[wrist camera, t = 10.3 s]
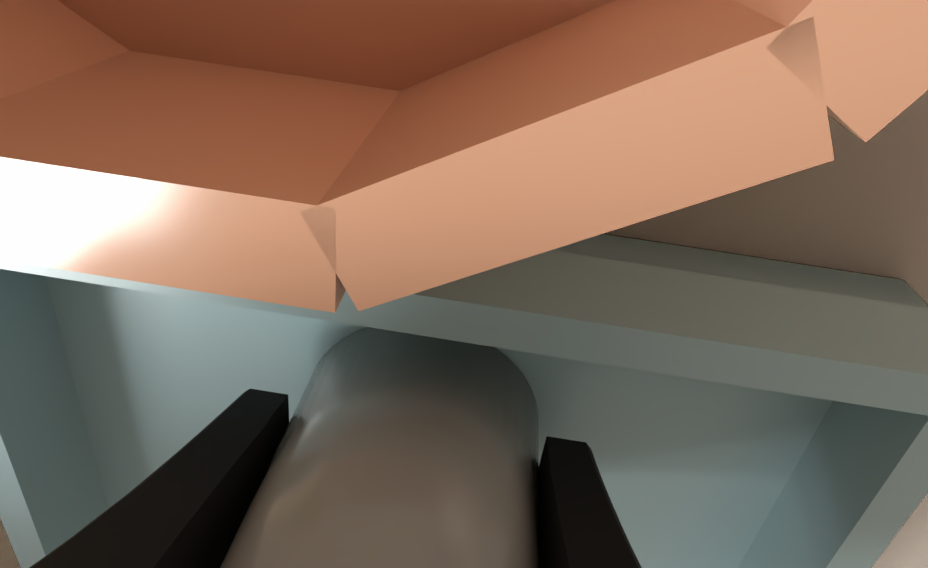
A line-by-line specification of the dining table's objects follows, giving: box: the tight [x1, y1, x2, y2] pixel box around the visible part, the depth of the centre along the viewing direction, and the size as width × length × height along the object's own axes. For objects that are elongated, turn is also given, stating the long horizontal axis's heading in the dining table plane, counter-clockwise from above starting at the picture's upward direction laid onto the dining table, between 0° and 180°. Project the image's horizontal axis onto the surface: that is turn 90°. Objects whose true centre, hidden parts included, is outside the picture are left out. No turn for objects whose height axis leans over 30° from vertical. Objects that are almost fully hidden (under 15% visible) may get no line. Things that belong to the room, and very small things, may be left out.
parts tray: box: [0, 234, 928, 568], centre depth 12 cm, size 14×14×2 cm
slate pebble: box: [220, 327, 539, 568], centre depth 9 cm, size 4×4×5 cm
